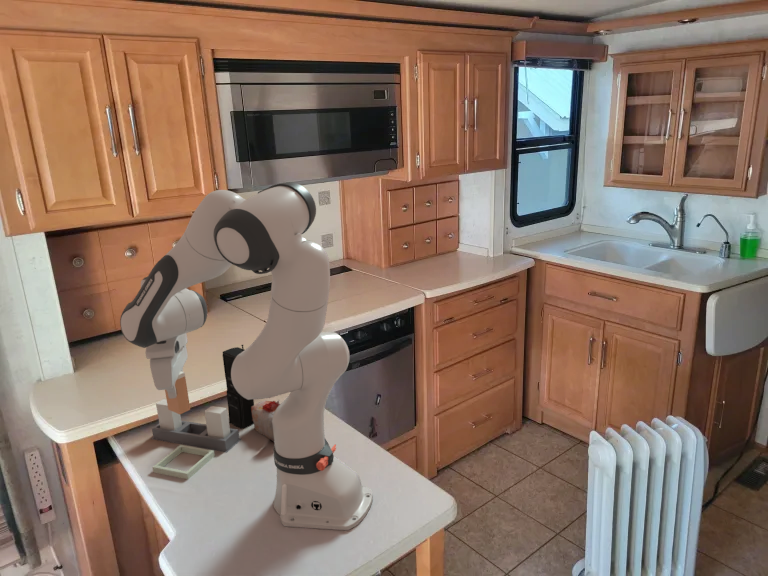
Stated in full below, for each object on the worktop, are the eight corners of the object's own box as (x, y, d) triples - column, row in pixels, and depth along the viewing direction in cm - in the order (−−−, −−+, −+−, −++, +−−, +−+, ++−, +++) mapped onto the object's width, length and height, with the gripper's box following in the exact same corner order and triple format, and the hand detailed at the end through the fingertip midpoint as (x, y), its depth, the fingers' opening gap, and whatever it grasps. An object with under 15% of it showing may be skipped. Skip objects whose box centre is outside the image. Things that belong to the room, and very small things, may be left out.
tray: (215, 459, 147) (214, 450, 147) (188, 482, 138) (187, 473, 137) (182, 452, 151) (180, 444, 150) (154, 475, 141) (152, 466, 141)
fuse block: (242, 441, 155) (237, 405, 152) (227, 455, 149) (222, 418, 146) (168, 429, 163) (162, 394, 160) (151, 442, 157) (144, 406, 154)
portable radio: (226, 424, 165) (215, 344, 158) (243, 416, 169) (233, 337, 162) (242, 432, 160) (231, 350, 153) (259, 423, 164) (250, 343, 157)
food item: (249, 432, 160) (245, 400, 157) (273, 421, 166) (269, 390, 163) (278, 449, 151) (274, 415, 148) (301, 436, 156) (298, 404, 154)
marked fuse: (190, 409, 141) (184, 372, 139) (179, 414, 139) (173, 376, 136) (178, 404, 144) (172, 368, 142) (168, 409, 142) (161, 372, 139)
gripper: (163, 326, 146) (172, 375, 150) (143, 355, 127) (153, 411, 130) (189, 323, 147) (196, 372, 151) (172, 352, 127) (181, 407, 131)
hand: (176, 390), depth 140 cm, fingers closed on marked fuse, 6 cm apart
